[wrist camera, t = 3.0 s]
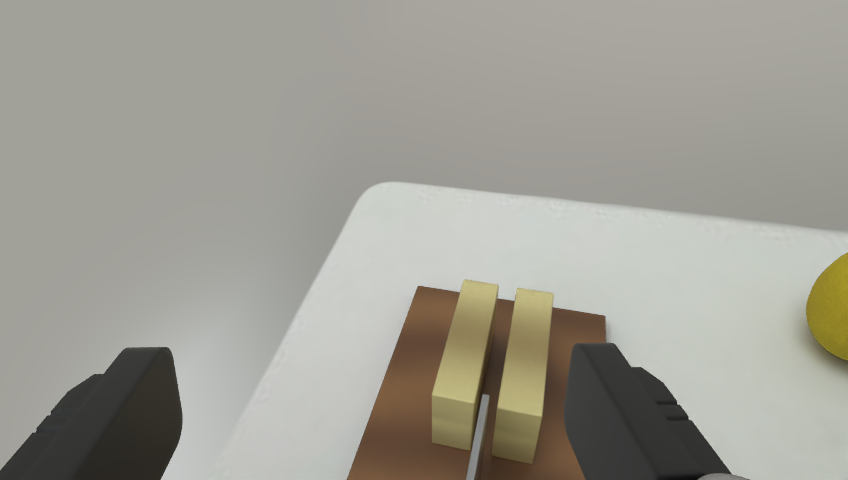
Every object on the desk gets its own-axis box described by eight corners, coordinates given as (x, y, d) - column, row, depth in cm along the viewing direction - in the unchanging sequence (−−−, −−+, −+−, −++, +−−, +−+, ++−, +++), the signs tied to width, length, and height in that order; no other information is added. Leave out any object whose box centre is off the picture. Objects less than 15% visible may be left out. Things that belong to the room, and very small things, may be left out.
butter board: (605, 896, 17) (644, 886, 14) (248, 769, 19) (212, 736, 16) (602, 326, 35) (618, 267, 32) (418, 296, 38) (416, 237, 34)
